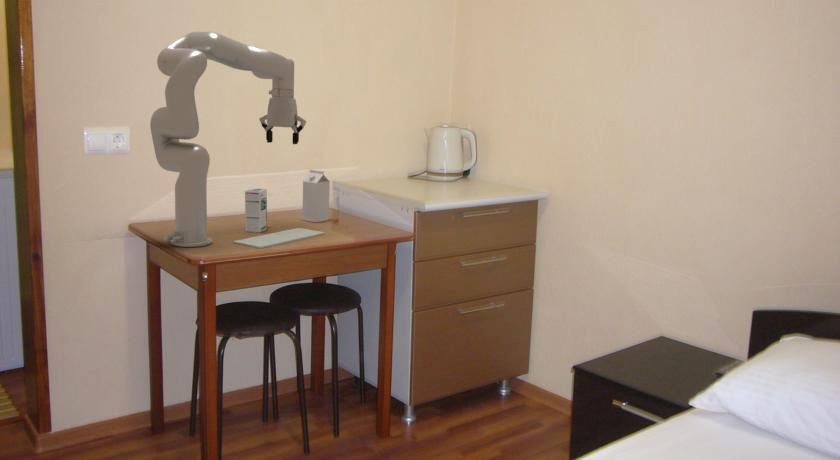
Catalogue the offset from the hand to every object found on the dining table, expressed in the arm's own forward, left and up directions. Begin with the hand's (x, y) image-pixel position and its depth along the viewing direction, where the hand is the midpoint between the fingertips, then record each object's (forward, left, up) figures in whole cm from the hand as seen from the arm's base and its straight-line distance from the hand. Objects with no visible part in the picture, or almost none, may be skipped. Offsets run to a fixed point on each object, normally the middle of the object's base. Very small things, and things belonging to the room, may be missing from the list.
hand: (282, 143), depth 275 cm
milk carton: (+17, -2, -30) cm, 35 cm away
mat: (-17, -15, -30) cm, 37 cm away
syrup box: (-13, 0, -30) cm, 33 cm away
